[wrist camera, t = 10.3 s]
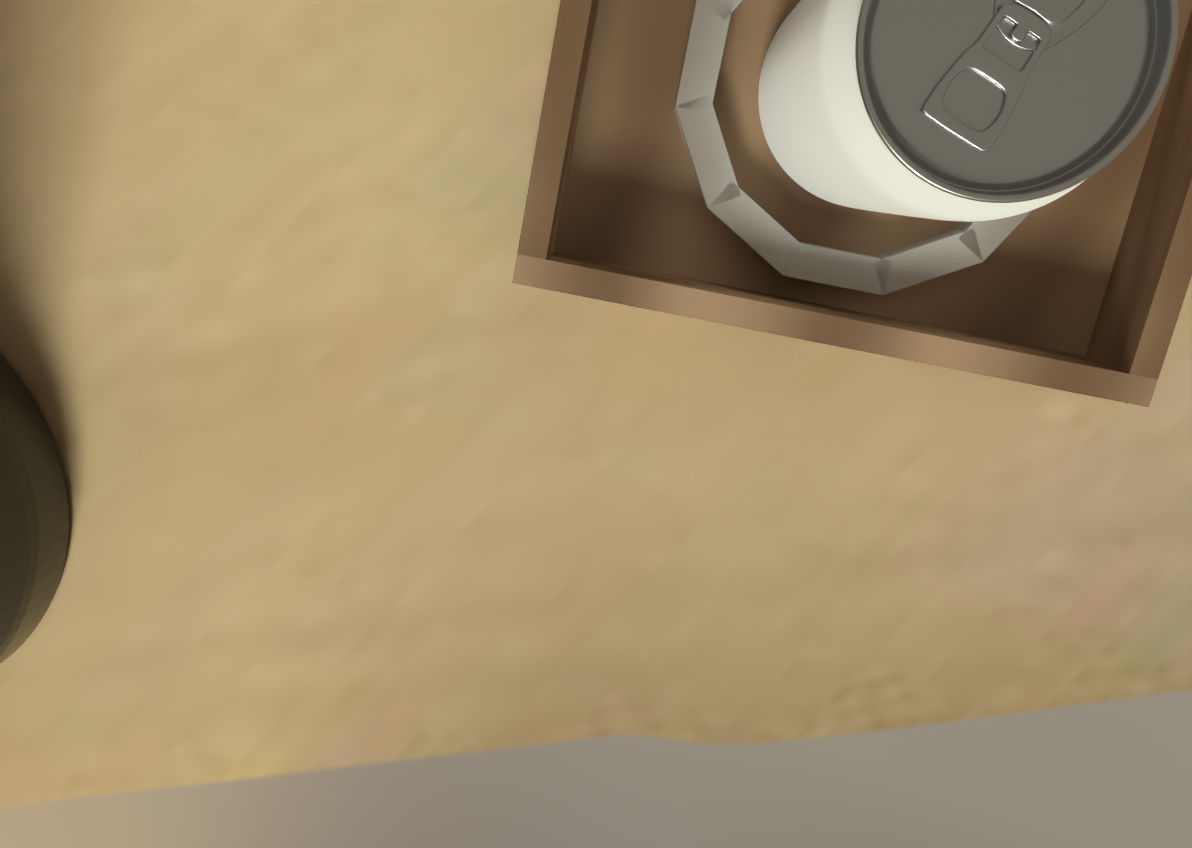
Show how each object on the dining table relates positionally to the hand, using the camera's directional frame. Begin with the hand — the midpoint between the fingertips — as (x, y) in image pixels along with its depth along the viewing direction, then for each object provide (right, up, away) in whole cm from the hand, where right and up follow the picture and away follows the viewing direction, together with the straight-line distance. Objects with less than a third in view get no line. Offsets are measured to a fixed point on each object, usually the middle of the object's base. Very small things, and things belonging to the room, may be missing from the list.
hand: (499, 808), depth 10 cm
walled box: (+9, +13, +21) cm, 26 cm away
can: (+9, +13, +21) cm, 26 cm away
